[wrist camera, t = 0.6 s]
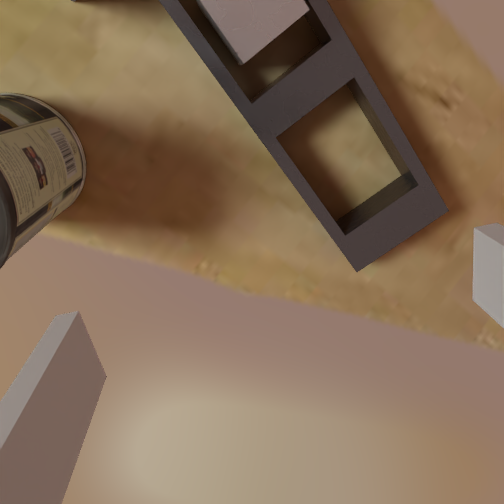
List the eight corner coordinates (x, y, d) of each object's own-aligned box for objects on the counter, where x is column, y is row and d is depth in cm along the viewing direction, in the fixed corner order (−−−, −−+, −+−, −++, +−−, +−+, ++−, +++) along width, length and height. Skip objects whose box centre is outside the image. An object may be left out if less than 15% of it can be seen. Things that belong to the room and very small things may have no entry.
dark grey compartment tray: (120, -54, 30) (108, -70, 27) (222, -151, 28) (222, -180, 25) (345, 256, 40) (356, 272, 37) (429, 199, 38) (448, 210, 35)
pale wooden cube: (198, 6, 32) (192, -11, 25) (252, -41, 31) (260, -72, 24) (239, 65, 33) (243, 63, 27) (292, 22, 32) (309, 9, 26)
